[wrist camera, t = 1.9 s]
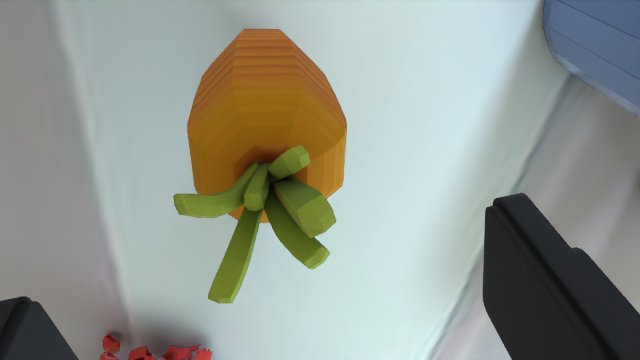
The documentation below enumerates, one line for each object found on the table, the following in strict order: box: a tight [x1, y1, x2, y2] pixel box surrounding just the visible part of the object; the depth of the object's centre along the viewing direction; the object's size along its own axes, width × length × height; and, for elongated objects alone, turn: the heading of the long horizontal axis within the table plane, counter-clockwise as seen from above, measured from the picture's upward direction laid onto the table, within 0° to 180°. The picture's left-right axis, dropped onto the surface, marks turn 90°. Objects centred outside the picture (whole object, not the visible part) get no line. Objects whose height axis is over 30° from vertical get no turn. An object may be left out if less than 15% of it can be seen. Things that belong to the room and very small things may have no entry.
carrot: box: [173, 29, 347, 303], centre depth 17 cm, size 5×5×15 cm
